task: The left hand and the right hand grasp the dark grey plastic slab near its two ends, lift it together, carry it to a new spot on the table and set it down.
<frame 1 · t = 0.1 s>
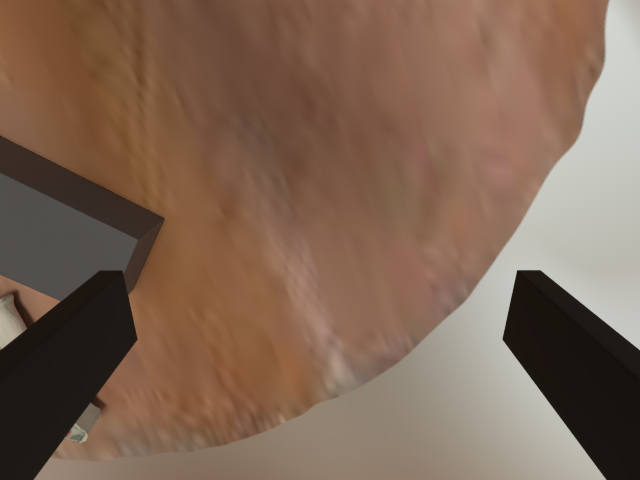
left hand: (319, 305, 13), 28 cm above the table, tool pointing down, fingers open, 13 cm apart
tape dispenser: (48, 370, 49), on the table
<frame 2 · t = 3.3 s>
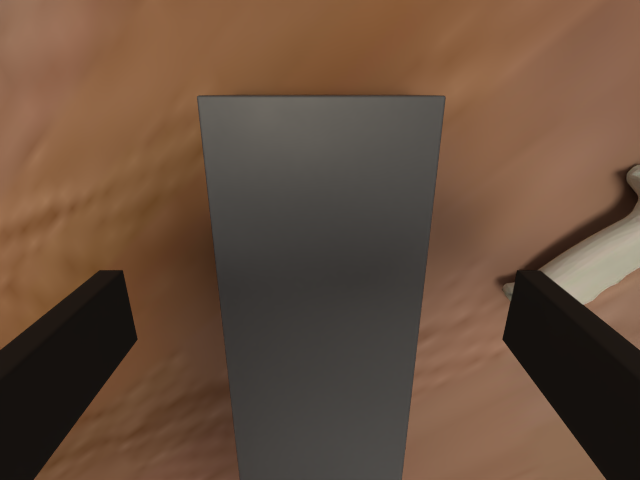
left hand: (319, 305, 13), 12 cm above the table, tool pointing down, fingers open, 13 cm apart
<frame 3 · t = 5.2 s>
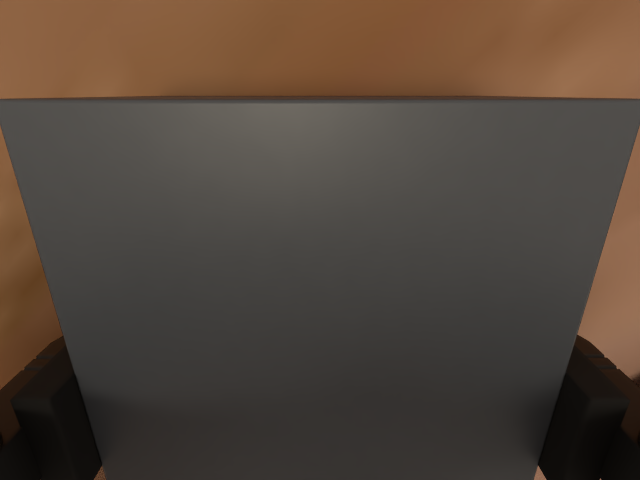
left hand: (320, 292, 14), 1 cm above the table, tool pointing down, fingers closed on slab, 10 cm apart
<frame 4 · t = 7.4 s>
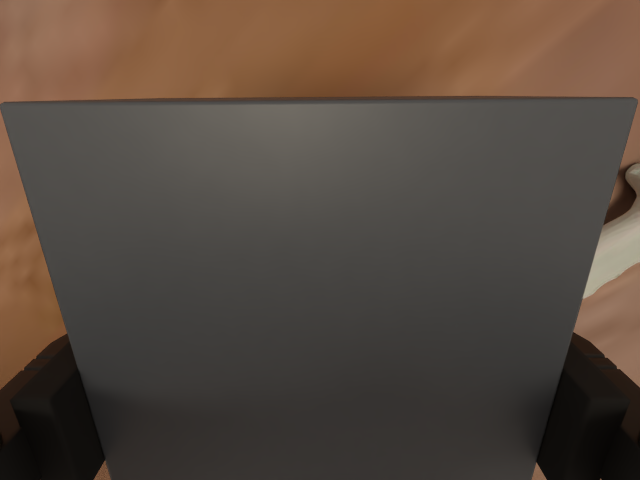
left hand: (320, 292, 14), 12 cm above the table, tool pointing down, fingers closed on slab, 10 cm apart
when the left hand's fingers open (2 cm above the table, at t = 11.9 s): slab drops 1 cm, on the table.
when the right hand's fingers open (2 cm above the table, at t = 11.9 s): slab drops 1 cm, on the table.
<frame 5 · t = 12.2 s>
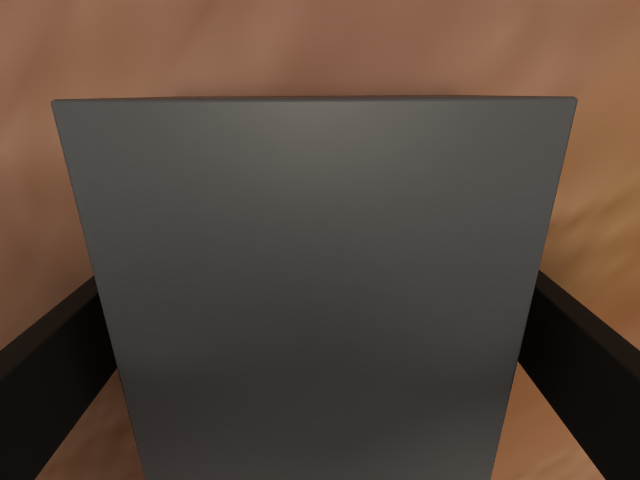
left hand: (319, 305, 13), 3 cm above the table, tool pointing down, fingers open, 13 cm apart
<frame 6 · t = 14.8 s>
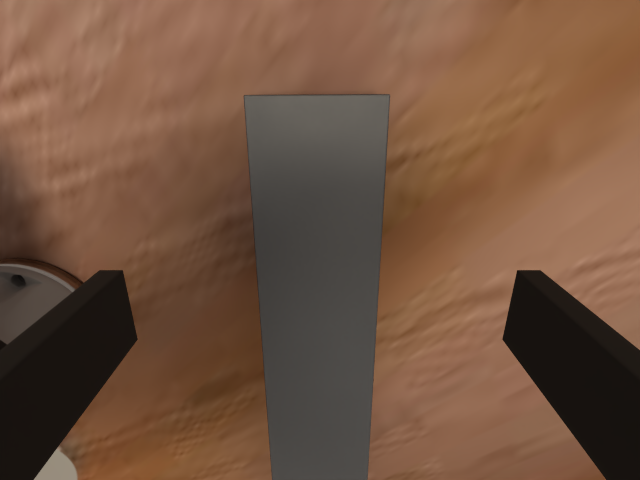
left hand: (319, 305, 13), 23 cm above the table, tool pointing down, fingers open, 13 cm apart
slab: (319, 437, 46), on the table
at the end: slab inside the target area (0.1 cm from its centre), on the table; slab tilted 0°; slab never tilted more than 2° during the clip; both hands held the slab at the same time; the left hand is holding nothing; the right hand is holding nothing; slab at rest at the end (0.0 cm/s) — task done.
